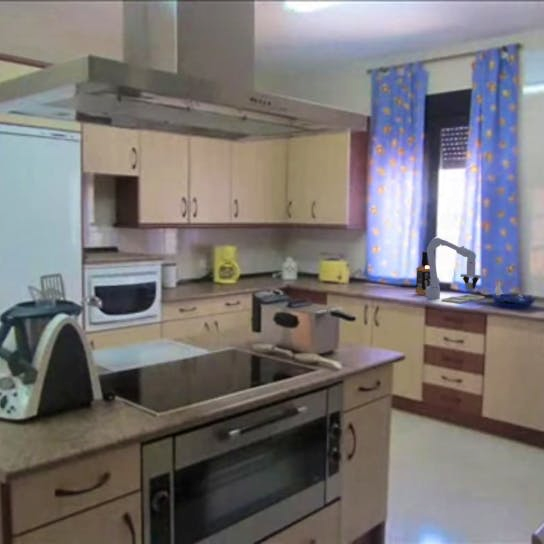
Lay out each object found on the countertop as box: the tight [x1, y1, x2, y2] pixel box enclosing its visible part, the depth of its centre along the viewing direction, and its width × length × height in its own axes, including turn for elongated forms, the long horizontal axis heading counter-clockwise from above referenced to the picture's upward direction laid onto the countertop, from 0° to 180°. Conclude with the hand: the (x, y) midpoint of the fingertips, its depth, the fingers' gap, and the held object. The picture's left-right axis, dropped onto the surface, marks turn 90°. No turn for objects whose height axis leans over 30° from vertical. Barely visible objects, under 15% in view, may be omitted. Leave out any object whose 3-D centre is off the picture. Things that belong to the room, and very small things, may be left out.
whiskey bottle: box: [414, 251, 431, 296], centre depth 450 cm, size 10×10×32 cm
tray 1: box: [441, 296, 471, 304], centre depth 413 cm, size 14×14×2 cm
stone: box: [465, 281, 476, 291], centre depth 419 cm, size 4×4×4 cm
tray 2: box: [457, 294, 485, 302], centre depth 421 cm, size 14×14×2 cm
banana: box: [494, 280, 523, 297], centre depth 409 cm, size 5×19×15 cm, turn 50°
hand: (470, 287), depth 420 cm, fingers closed on stone, 4 cm apart
